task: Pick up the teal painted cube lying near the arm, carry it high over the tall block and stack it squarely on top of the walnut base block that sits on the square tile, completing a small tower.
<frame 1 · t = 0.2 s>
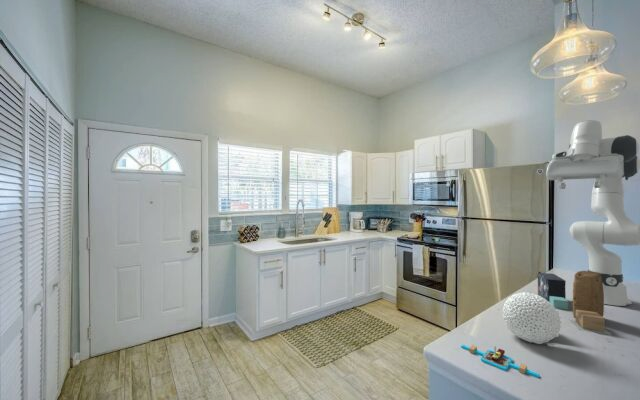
hand: (579, 187, 99), 54 cm above the counter, tool tilted 30°, fingers open, 8 cm apart
gear mechanism: (497, 361, 81), on the counter
small box: (550, 300, 132), on the counter
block: (588, 321, 108), on the counter
square tile: (589, 330, 101), on the counter
white coral: (526, 336, 96), on the counter
teal cube: (558, 309, 120), on the counter
walnut base block: (589, 326, 101), point 1 cm above the counter, touching square tile
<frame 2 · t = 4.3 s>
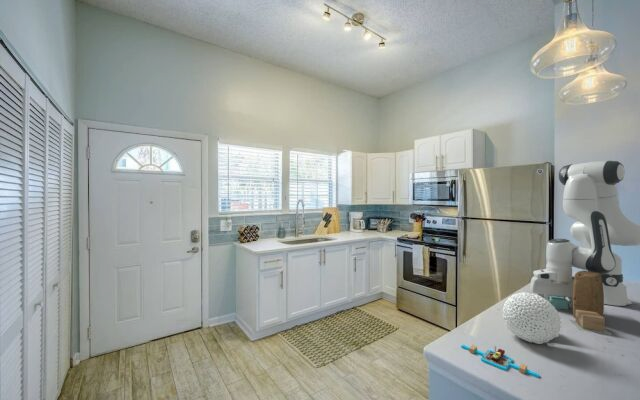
hand: (558, 305, 120), 2 cm above the counter, tool pointing down, fingers closed on teal cube, 5 cm apart
teal cube: (558, 309, 120), on the counter, touching gripper
everything else where it was.
when the fingers open (9 cm above the counter, at t = 11.0 s): teal cube drops 1 cm, resting on walnut base block.
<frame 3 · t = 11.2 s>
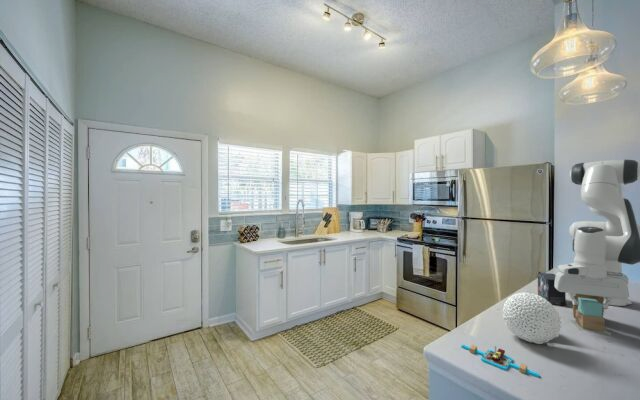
hand: (589, 306, 101), 9 cm above the counter, tool pointing down, fingers open, 7 cm apart
teal cube: (589, 313, 101), point 6 cm above the counter, touching walnut base block
walnut base block: (589, 326, 101), point 1 cm above the counter, touching square tile, teal cube
everything else where it was.
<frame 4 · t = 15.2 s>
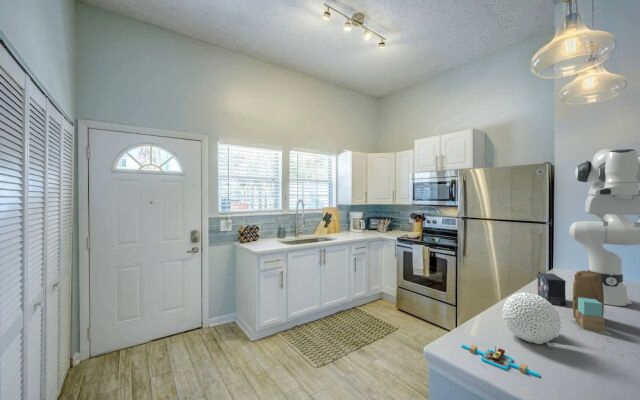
hand: (621, 226, 103), 39 cm above the counter, tool pointing down, fingers open, 8 cm apart
nothing on the counter moved.
at the end: teal cube 0.0 cm off-centre on the walnut base block, point 5.0 cm above the walnut base block's base; teal cube touching walnut base block; the gripper is holding nothing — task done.
